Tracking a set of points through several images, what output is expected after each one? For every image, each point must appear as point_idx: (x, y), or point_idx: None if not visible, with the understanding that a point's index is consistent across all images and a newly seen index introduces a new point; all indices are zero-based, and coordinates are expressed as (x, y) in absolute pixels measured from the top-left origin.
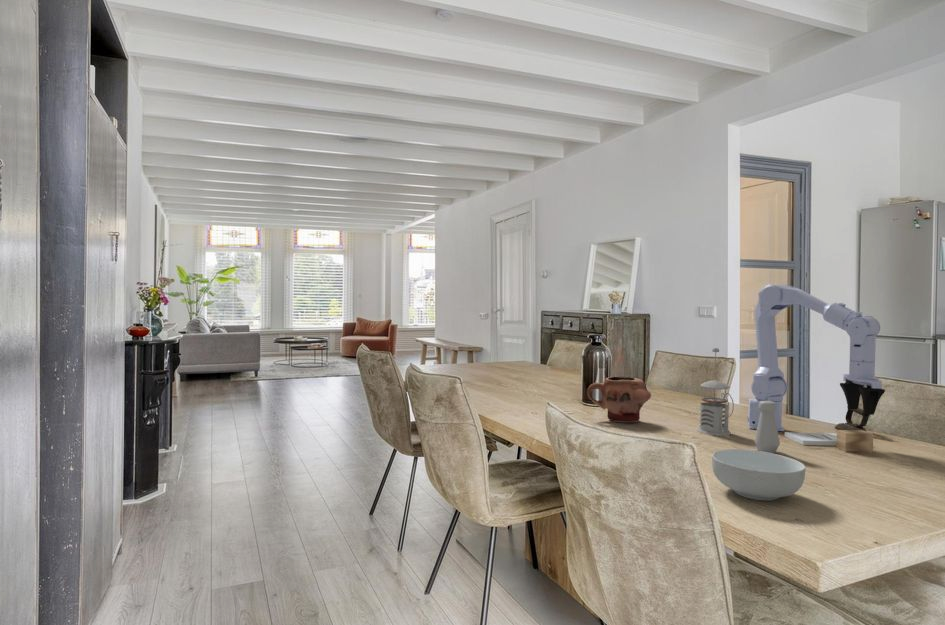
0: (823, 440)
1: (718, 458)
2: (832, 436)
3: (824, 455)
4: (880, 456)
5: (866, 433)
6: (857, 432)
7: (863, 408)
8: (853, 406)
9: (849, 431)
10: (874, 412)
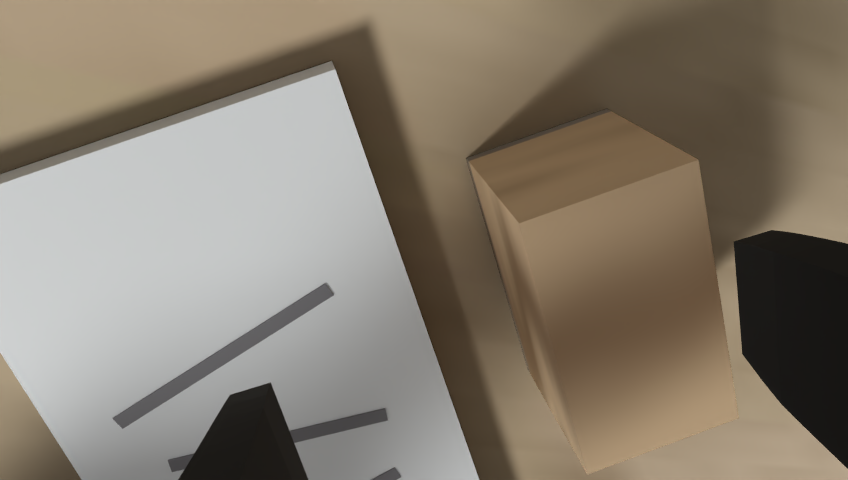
0: (452, 472)
1: None
2: (205, 389)
3: (800, 463)
4: (741, 80)
5: (696, 229)
6: (668, 309)
7: (816, 423)
8: (292, 474)
9: (636, 375)
10: (803, 236)
